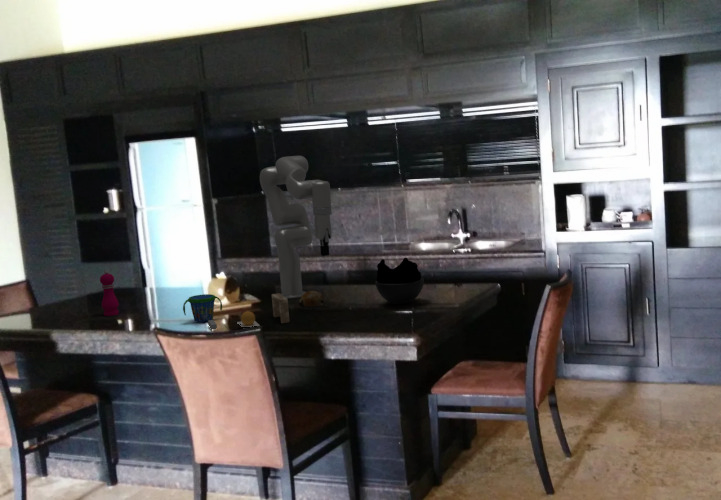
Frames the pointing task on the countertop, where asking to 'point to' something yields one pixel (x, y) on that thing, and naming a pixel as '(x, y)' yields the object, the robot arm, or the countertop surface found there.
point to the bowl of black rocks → (399, 282)
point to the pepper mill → (109, 295)
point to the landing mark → (248, 325)
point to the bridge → (280, 307)
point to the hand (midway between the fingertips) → (325, 255)
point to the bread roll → (311, 299)
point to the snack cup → (202, 307)
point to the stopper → (212, 324)
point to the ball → (248, 318)
